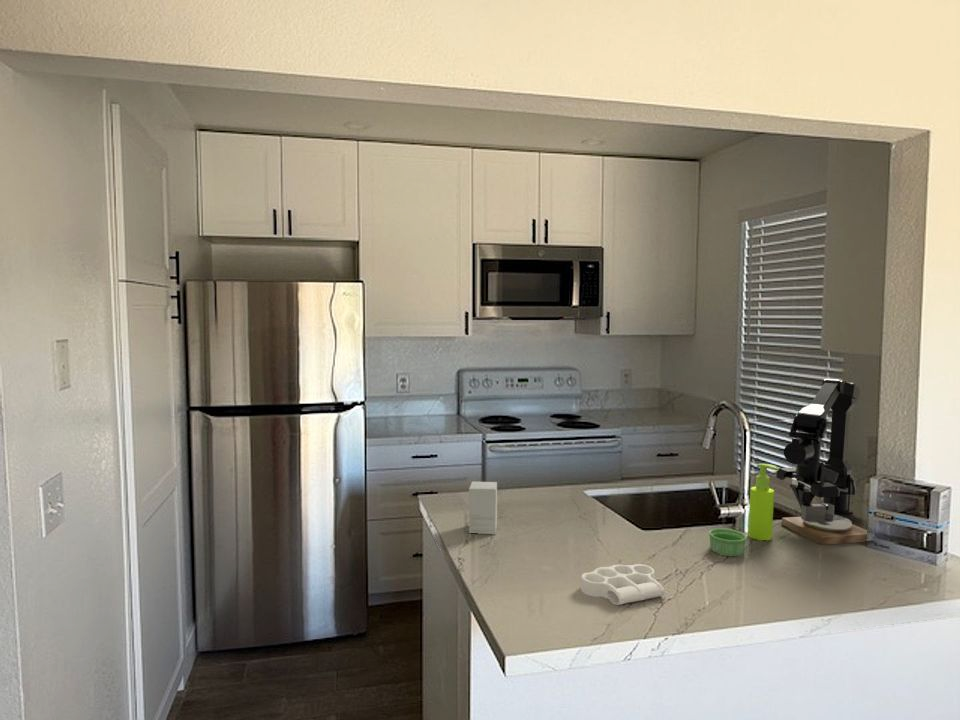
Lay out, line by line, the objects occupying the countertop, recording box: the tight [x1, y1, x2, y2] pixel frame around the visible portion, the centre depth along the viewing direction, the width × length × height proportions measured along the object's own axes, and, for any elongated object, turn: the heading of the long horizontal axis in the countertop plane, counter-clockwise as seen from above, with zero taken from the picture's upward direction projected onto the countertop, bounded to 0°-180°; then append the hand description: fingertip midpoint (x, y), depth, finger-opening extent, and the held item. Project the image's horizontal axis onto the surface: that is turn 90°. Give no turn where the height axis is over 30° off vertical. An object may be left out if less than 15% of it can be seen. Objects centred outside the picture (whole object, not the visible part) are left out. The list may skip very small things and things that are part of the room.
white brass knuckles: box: [580, 563, 666, 606], centre depth 145 cm, size 3×18×15 cm
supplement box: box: [468, 480, 498, 535], centre depth 181 cm, size 7×7×13 cm
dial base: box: [781, 516, 868, 546], centre depth 182 cm, size 16×16×2 cm
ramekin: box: [708, 527, 748, 557], centre depth 168 cm, size 9×9×4 cm
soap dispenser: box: [747, 462, 781, 541], centre depth 177 cm, size 6×7×20 cm
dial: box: [800, 502, 853, 532], centre depth 182 cm, size 13×12×6 cm
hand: (804, 511), depth 184 cm, fingers closed
